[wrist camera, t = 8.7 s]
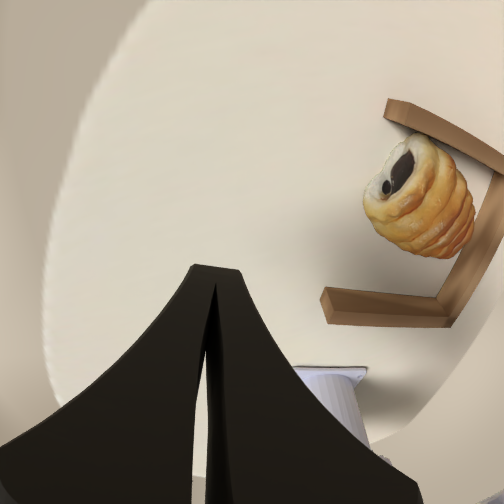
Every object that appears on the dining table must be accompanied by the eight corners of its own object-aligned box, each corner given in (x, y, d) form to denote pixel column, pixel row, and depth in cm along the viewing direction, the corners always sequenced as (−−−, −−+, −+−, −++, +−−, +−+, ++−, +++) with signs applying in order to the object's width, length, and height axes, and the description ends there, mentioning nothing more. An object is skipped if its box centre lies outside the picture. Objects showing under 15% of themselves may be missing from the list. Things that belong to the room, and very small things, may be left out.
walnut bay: (438, 308, 23) (450, 327, 21) (319, 299, 21) (327, 324, 19) (507, 161, 16) (528, 173, 14) (388, 98, 14) (410, 102, 12)
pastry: (477, 201, 18) (507, 225, 15) (426, 266, 21) (449, 297, 17) (406, 120, 15) (442, 134, 12) (344, 205, 18) (366, 235, 15)
